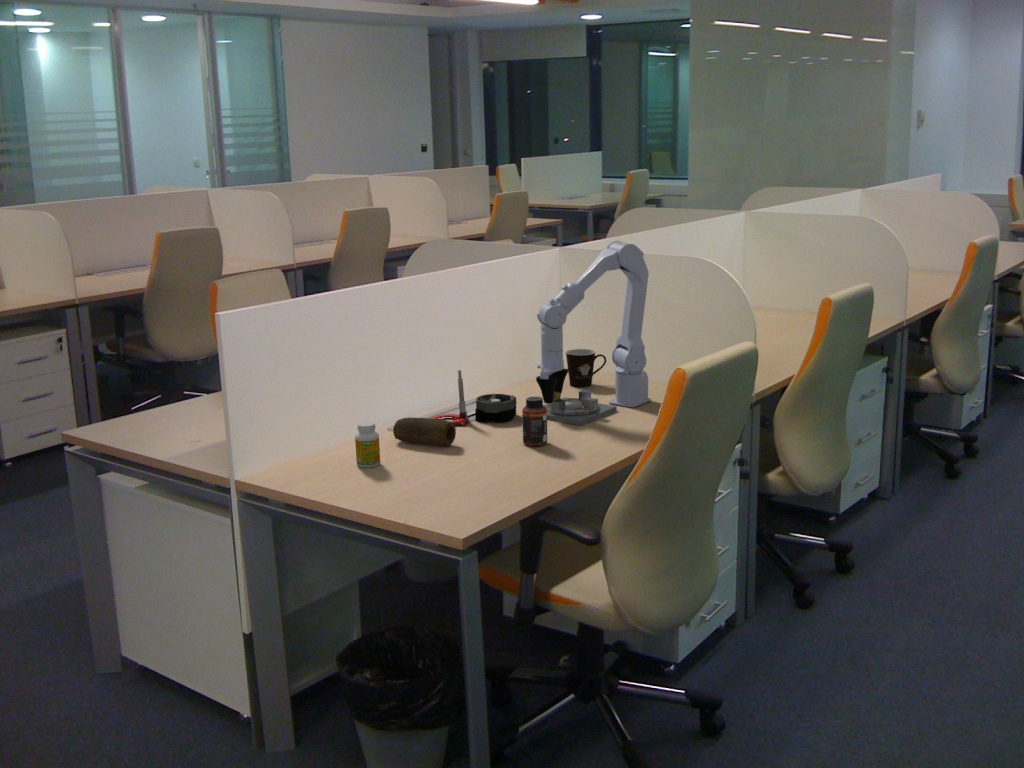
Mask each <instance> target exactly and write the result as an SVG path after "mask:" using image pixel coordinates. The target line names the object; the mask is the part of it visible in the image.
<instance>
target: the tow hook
mask: <svg viewBox="0 0 1024 768" xmlns="http://www.w3.org/2000/svg"><path fill="white" fill-rule="evenodd" d="M457 376H458V377H457V385H458V399H459V402H458V406H459V414H456V413H447V414H445V413H444V414H440V415H439V414H438V415H435V416H431V418H430V419H438V418H442V417H452V418H456V419H458V420H456V419H454V420H451V421H450V420H449V421H450V422H452V423H453V424H454V426H456V425H457V426H458V425H460V426H462V427H464V426H465V425H466V423H467V420H468V416H469V415H468V413H467V408H466V401H465V394H464V393H465V392H464V382H463V381H464V380H463V377H462V370H461V369H459V370H457Z"/></svg>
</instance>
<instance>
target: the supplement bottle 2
mask: <svg viewBox="0 0 1024 768" xmlns="http://www.w3.org/2000/svg"><path fill="white" fill-rule="evenodd" d="M543 405H544V400H543V396H528V397H527V398H525V406H523V407H522V411H521V414H522V417H521V418H522V420H521V421H522V441H523V444H524V445H525V446H527V447H531V448H532V447H542V446H545V445H546V444H548V440H549V439H548V419H547V409H546V407H545V406H543Z"/></svg>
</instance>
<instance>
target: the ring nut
mask: <svg viewBox="0 0 1024 768" xmlns="http://www.w3.org/2000/svg"><path fill="white" fill-rule="evenodd" d="M561 396H562V393H560V392H554V398H553V401H552V403H546V404H547V406H546V409H547V411H549V412H551V413H554V414H559V415H576V416H577V415H585V414H590V413H593V412H595V411H597V410H598V403H599V398H596V397H595V398H594V397H592V389H584V388H583V390H579V391H578V397H577V398H576V397H573V398H572V397H565V399H562V398H561ZM566 400H579V401H581V402H582V404H584V408H586V409H581V410H565V401H566Z"/></svg>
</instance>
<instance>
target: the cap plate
mask: <svg viewBox="0 0 1024 768" xmlns="http://www.w3.org/2000/svg"><path fill="white" fill-rule="evenodd" d="M565 398H566V397H565V396H564V397H562V398H561V399H565ZM543 406H545V407H546V406H547V403H544V404H543ZM617 406H618V405H612V404H611V405H610V404H605V403H604V404H603V403H599V402H598V410H597V411H595V412H593V413H590V414H585V415H577V416H576V415H559V414H554V413H551V412H549V411H547V421H548V420H549V421H553V422H554V421H555V422H559V423H564V424H571V425H575V426H580V427H581V426H584V425H586V424H588V423H590V422H593V421H596V420H598V419H600V418H603V417H606V416H608V415H610V414H612V413H615V412H617ZM581 409H586V408H584V404H582V402H581V401H579V400H566V401H565V410H581Z"/></svg>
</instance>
